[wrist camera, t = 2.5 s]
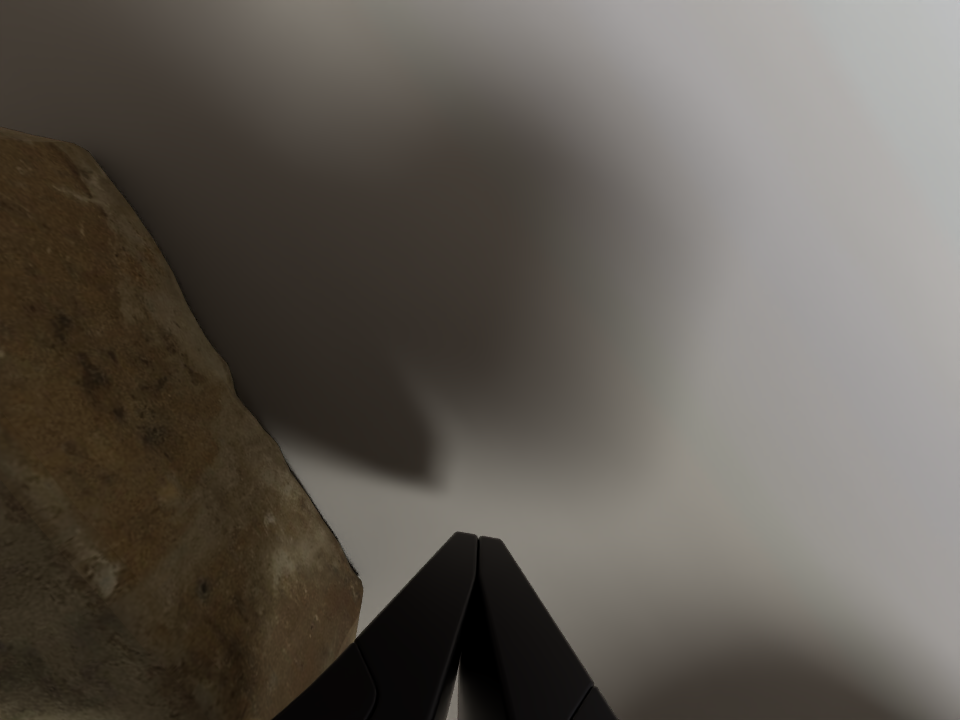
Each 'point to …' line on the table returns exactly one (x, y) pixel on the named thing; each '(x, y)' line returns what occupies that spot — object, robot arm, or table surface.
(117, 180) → the table surface
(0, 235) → the stone block
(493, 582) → the robot arm
